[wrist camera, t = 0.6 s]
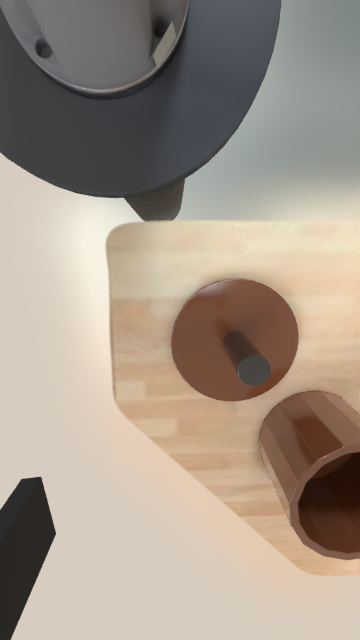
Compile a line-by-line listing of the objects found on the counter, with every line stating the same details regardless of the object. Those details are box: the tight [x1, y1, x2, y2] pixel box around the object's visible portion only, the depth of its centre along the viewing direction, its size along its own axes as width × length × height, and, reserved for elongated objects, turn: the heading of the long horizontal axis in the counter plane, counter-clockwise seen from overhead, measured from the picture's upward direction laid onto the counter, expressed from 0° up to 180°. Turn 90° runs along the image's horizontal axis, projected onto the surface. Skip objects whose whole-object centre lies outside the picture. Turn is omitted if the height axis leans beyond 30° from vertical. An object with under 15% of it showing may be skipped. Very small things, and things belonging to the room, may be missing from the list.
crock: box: [259, 391, 360, 560], centre depth 30 cm, size 13×13×10 cm
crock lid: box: [172, 279, 298, 401], centre depth 27 cm, size 14×14×9 cm
